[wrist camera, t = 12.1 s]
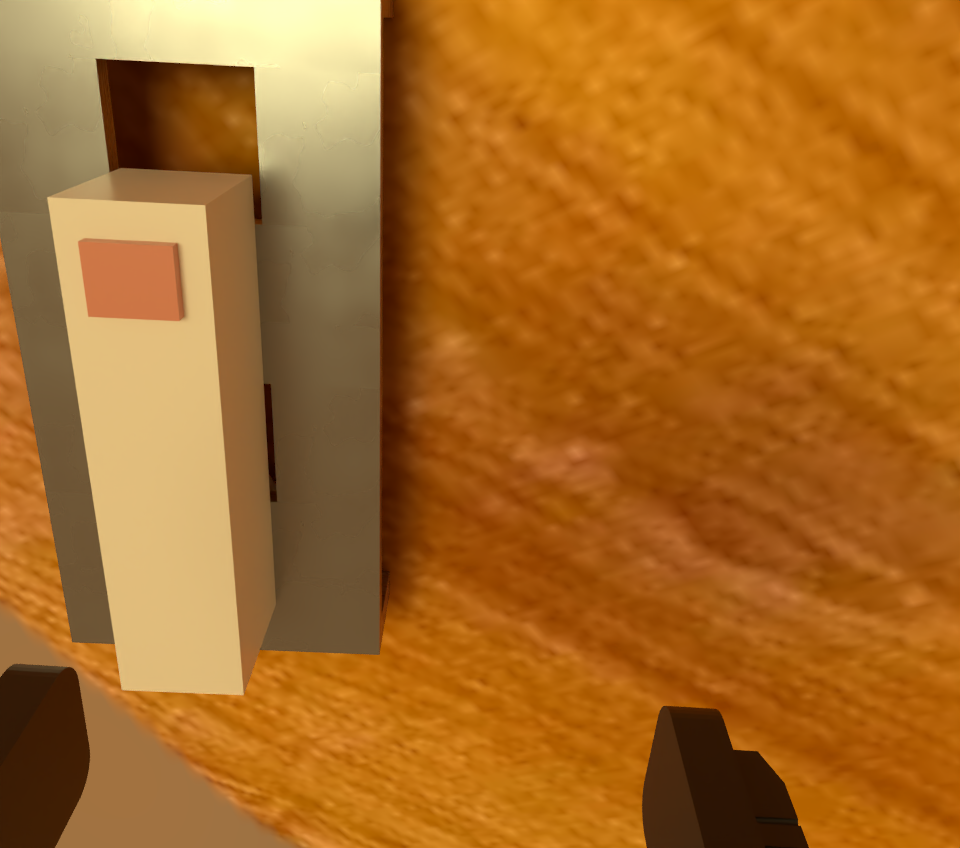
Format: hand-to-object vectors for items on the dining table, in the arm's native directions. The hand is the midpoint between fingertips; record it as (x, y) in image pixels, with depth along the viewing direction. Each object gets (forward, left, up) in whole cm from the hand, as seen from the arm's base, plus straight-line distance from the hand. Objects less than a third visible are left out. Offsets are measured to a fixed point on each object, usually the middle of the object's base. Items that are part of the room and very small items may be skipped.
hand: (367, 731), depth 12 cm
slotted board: (+2, -8, -22) cm, 24 cm away
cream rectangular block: (+4, -8, -21) cm, 23 cm away
